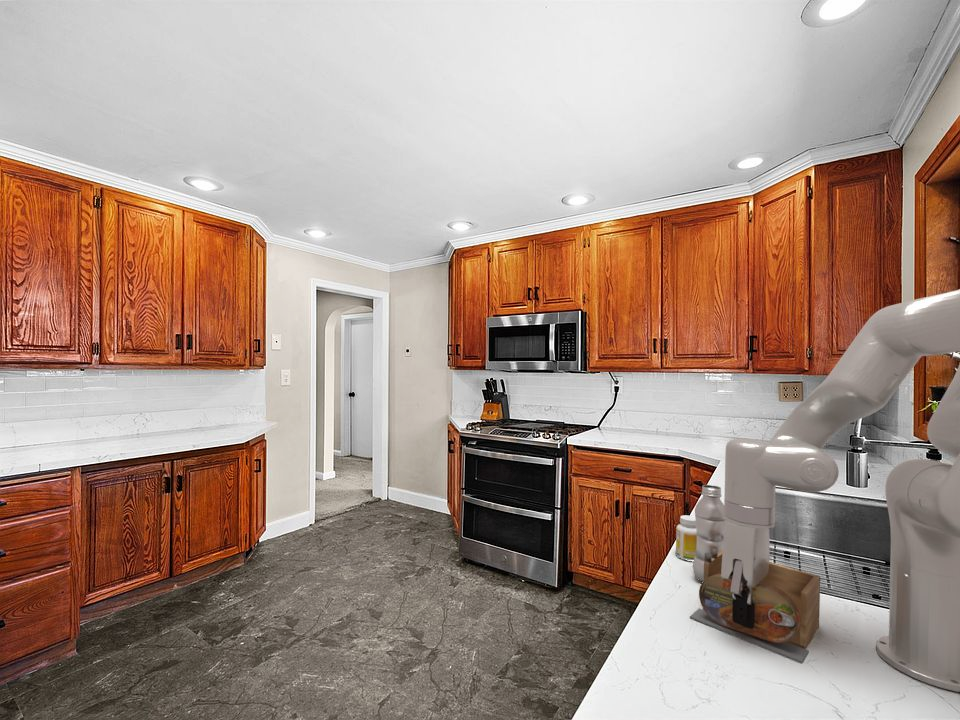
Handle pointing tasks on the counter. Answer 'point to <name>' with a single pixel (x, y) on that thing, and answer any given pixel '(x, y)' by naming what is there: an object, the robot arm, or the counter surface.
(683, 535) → the supplement bottle
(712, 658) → the counter surface
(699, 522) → the plastic bottle
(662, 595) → the counter surface
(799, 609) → the cabinet carcass
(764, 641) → the flat grey bar
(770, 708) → the counter surface
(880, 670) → the counter surface
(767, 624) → the tin
